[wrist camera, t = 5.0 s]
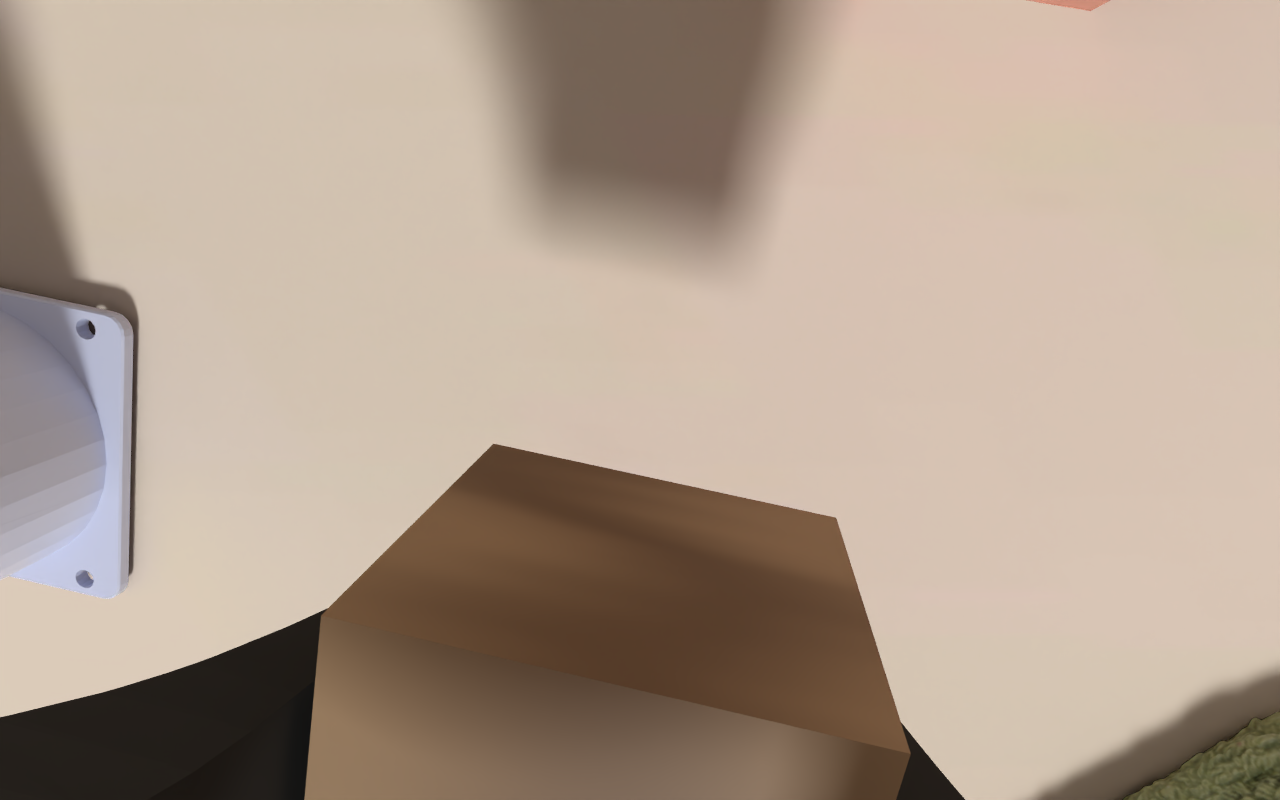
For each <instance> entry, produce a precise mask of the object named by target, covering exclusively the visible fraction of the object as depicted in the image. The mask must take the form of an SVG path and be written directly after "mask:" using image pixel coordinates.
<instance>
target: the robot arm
mask: <svg viewBox="0 0 1280 800" xmlns="http://www.w3.org/2000/svg"><path fill="white" fill-rule="evenodd" d="M89 321H91V322H92V323H93V325H94V326H95V330H96V332H95V335H93V334H92V333H91V332H90V330H89V326H88V323H89ZM132 375H133V330H132V326H131V324H130V323H129V321H128V320H127V319H126V318H125V317H124V316H123V315H122V314H119V313H117V312H114V311H109V310H104V309H100V308H95V307H90V306H86V305H81V304H76V303H71V302H67V301H62V300H57V299H52V298H48V297H43V296H38V295H34V294H29V293H24V292H19V291H15V290H10V289H5V288H0V580H2V579H4V578H6V577H8V576H10V577H14V578H18V579H23V580H27V581H31V582H35V583H39V584H44V585H48V586H52V587H56V588H61V589H65V590H69V591H73V592H78V593H82V594H86V595H90V596H94V597H99V598H103V599H110V598H113V597H115V596H117V595H118V594H120V593H122V592H123V591H124V590H125V589H126V588H127V585H128V575H129V525H130V475H131V425H132ZM87 572H89V573H90V574H91V575H92V576H93V580H92V579H91V578H90V577H89V576H88V573H87ZM327 609H328V608H327ZM327 609H325V610H323V611H321V612H319V613H317V614H314V615H312V616H310V617H308V618H306V619H303V620H301V621H299V622H297V623H295V624H293V625H290V626H288V627H286V628H283V629H281V630H278V631H276V632H274V633H271V634H269V635H266V636H264V637H261V638H259V639H256V640H254V641H251V642H249V643H246V644H244V645H241V646H239V647H237V648H234V649H232V650H229V651H227V652H224V653H222V654H219V655H217V656H214V657H212V658H209V659H206V660H203V661H201V662H198V663H195V664H192V665H189V666H186V667H184V668H181V669H178V670H175V671H172V672H169V673H166V674H162V675H159V676H156V677H153V678H150V679H146V680H143V681H140V682H137V683H134V684H130V685H127V686H124V687H120V688H117V689H113V690H110V691H106V692H103V693H99V694H95V695H91V696H87V697H83V698H79V699H74V700H70V701H66V702H62V703H58V704H54V705H50V706H46V707H42V708H38V709H34V710H30V711H26V712H21V713H17V714H13V715H9V716H5V717H0V800H304V799H305V788H306V777H307V766H308V755H309V744H310V733H311V721H312V710H313V699H314V688H315V677H316V666H317V655H318V644H319V633H320V622H321V615H322V614H323V613H324V612H325V611H326V610H327ZM901 725H902V728H903V731H904V734H905V737H906V740H907V744H908V747H909V750H910V753H911V755H910V758H909V761H908V764H907V767H906V770H905V773H904V776H903V780H902V783H901V786H900V789H899V792H898V795H897V798H896V800H965V799H964V798H963V797H962V795H961V794H960V793H959V792H958V791H957V790H956V788H955V787H954V786H953V785H952V784H951V783H950V781H949V780H948V779H947V778H946V777H945V776H944V774H943V773H942V772H941V771H940V770H939V768H938V767H937V766H936V765H935V764H934V762H933V761H932V760H931V759H930V758H929V756H928V755H927V754H926V753H925V751H924V750H923V749H922V748H921V747H920V745H919V744H918V743H917V742H916V740H915V739H914V738H913V737H912V735H911V734H910V733H909V732H908V730H907V729H906V728H905V727H904V725H903V724H902V723H901Z"/></svg>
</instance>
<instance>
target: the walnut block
mask: <svg viewBox="0 0 1280 800" xmlns="http://www.w3.org/2000/svg"><path fill="white" fill-rule="evenodd" d="M910 755H911V753H910V750H909V747H908V744H907V740H906V737H905V734H904V731H903V728H902V725H901V722H900V718H899V715H898V712H897V709H896V706H895V703H894V699H893V696H892V693H891V690H890V687H889V684H888V680H887V677H886V674H885V671H884V668H883V665H882V661H881V658H880V655H879V652H878V649H877V646H876V642H875V639H874V636H873V633H872V630H871V627H870V624H869V620H868V617H867V614H866V611H865V608H864V605H863V601H862V598H861V595H860V592H859V589H858V586H857V582H856V579H855V576H854V573H853V570H852V567H851V563H850V560H849V557H848V554H847V551H846V548H845V545H844V541H843V538H842V535H841V532H840V529H839V526H838V522H837V519H836V518H834V517H830V516H825V515H820V514H816V513H811V512H807V511H802V510H797V509H793V508H788V507H783V506H779V505H774V504H770V503H765V502H760V501H756V500H751V499H746V498H742V497H737V496H733V495H728V494H723V493H719V492H714V491H709V490H705V489H700V488H696V487H691V486H686V485H682V484H677V483H672V482H668V481H663V480H659V479H654V478H649V477H645V476H640V475H635V474H631V473H626V472H622V471H617V470H612V469H608V468H603V467H599V466H594V465H589V464H585V463H580V462H575V461H571V460H566V459H562V458H557V457H552V456H548V455H543V454H538V453H534V452H529V451H525V450H520V449H515V448H511V447H506V446H501V445H497V444H493V445H492V446H491V447H490V448H489V449H488V450H487V451H486V452H485V453H484V454H483V455H482V456H481V457H480V458H479V459H478V460H477V461H476V462H475V463H474V464H473V465H472V466H471V467H470V468H469V469H468V470H467V471H466V472H465V473H464V474H463V475H462V476H461V477H460V478H459V479H458V480H457V481H456V482H455V483H454V484H453V485H452V486H451V487H450V488H449V489H448V490H447V491H446V492H445V493H444V494H443V495H442V496H441V497H440V498H439V499H438V500H437V501H436V502H435V503H434V504H433V505H432V506H431V507H430V508H429V509H428V510H427V511H426V512H425V513H424V514H423V515H422V516H421V517H420V518H419V519H418V520H417V521H416V522H415V523H414V524H413V525H411V526H410V527H409V528H408V529H407V530H406V531H405V532H404V533H403V534H402V535H401V536H400V537H399V538H398V539H397V540H396V541H395V542H394V543H393V544H392V545H391V546H390V547H389V548H388V549H387V550H386V551H385V552H384V553H383V554H382V555H381V556H380V557H379V558H378V559H377V560H376V561H375V562H374V563H373V564H372V565H371V566H370V567H369V568H368V569H367V570H366V571H365V572H364V573H363V574H362V575H361V576H360V577H359V578H358V579H357V580H356V581H355V582H354V583H353V584H352V585H351V586H350V587H349V588H348V589H347V590H346V591H345V592H344V593H343V594H342V595H341V596H340V597H339V598H338V599H337V600H336V601H335V602H334V603H333V604H332V605H331V606H330V607H329V608H328V609H327V610H326V611H325V612H324V613H323V614H322V615H321V622H320V633H319V644H318V655H317V666H316V677H315V688H314V699H313V710H312V721H311V733H310V744H309V755H308V766H307V777H306V788H305V799H304V800H896V798H897V795H898V792H899V789H900V786H901V783H902V780H903V776H904V773H905V770H906V767H907V764H908V761H909V758H910Z"/></svg>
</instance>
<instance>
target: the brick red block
mask: <svg viewBox="0 0 1280 800" xmlns="http://www.w3.org/2000/svg"><path fill="white" fill-rule="evenodd" d="M1028 1H1034V2H1040V3H1046V4H1052V5H1058V6H1064V7H1070V8H1076V9H1082V10H1088V11H1091V10H1093V9H1095V8H1097V7H1099V6H1100V5H1102V4H1104V3H1106V2H1108V1H1110V0H1028Z"/></svg>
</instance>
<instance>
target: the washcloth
mask: <svg viewBox="0 0 1280 800" xmlns="http://www.w3.org/2000/svg"><path fill="white" fill-rule="evenodd" d="M1123 800H1280V711H1279V712H1276V713H1274V714H1272V715H1271V716H1269V717H1267V718H1265V719H1263V720H1260V719H1258V718H1253V719H1252V720H1251V722H1250V724H1249V725H1248V727H1246V728H1244V729H1242V730H1241V731H1240V732H1239V733H1238V734H1237V735H1235V736H1234V737H1233V738H1231V739H1230V740H1229V741H1228V742H1227V741H1220V742H1218V743H1217V745H1216V746H1214V747H1212V748H1210V749H1209V750H1207V751H1206V752H1204V753H1198V754H1197V755H1195V756H1194V757H1193V758H1191V759H1190V760H1188V761H1187V762H1185V763H1184V764H1183V765H1182V766H1181V768H1180V769H1179V770H1176V771H1174V772H1172V773H1171V774H1170V775H1168V776H1167V777H1166V778H1165V779H1160V780H1156V781H1154V782H1153V784H1152V785H1150V786H1145V787H1143V788H1142V789H1141V790H1140V791H1138V792H1136V793H1134V794H1131V795H1128V796H1126V797H1125V798H1124V799H1123Z"/></svg>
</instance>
